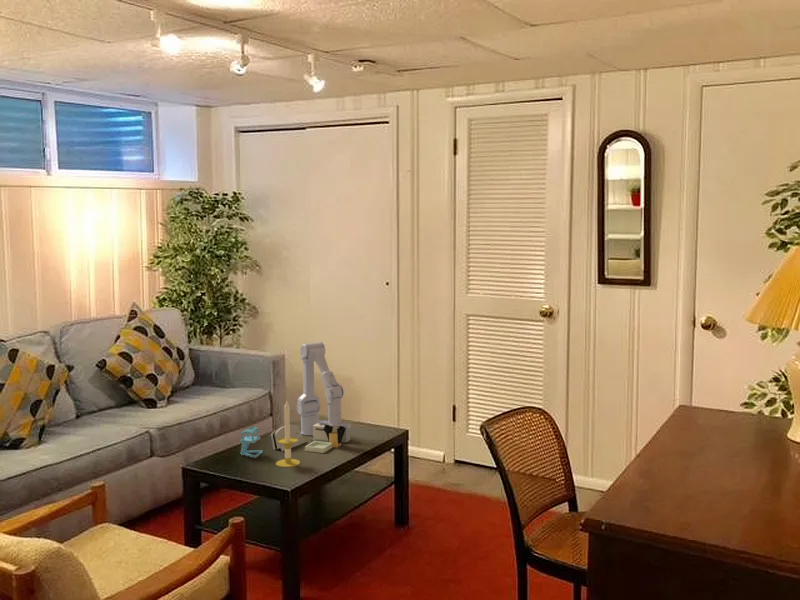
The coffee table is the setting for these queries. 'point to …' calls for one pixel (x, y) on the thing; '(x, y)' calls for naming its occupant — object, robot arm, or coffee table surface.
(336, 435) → the ochre block
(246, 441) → the chair
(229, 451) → the coffee table surface
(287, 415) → the candle
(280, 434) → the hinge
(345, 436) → the slate block
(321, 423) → the robot arm
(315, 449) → the sage tray
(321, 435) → the cream unit
